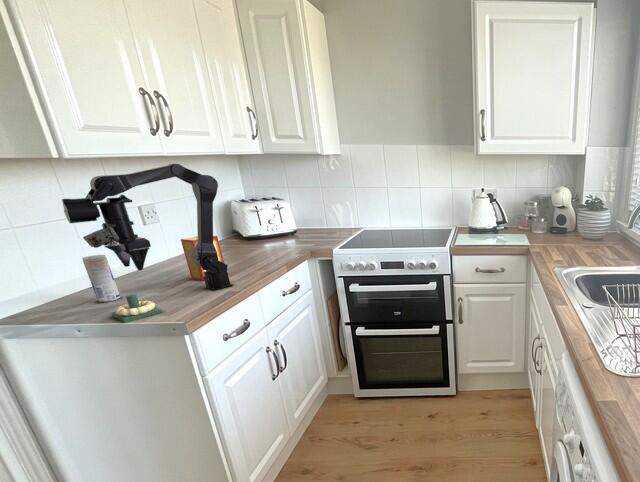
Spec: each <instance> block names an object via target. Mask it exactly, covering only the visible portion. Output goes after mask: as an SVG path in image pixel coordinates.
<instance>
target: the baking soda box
mask: <svg viewBox="0 0 640 482" xmlns="http://www.w3.org/2000/svg"><path fill="white" fill-rule="evenodd" d="M197 242H198V235H197V236H196V235H195V236H192V237H186V238H181V239H180V243H181V246H182V249H183V252H184V257H185V260H186V263H187V267H188V270H189V275H190V276H191V280H195V281H203V282H205V281H204V276H205V275H204V272H206V270H203V269H202V267H200V266H198V265H196V264H195V263H194V262H193V259H192V258H190V257H191V254H192V252H191V247H196V245H197ZM213 244H214V246H215V249H216V251H217V255H218V260H219V261H221V262H222V263H224V264H225V261H224V257H223V253H222V249H221V245H220V241H219V237H218V235H213Z"/></svg>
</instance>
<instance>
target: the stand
mask: <svg viewBox="0 0 640 482" xmlns="http://www.w3.org/2000/svg"><path fill="white" fill-rule="evenodd" d="M125 299H126V301H127V304H128V305H129V308H130V309H132V308H138V307H140V304H139V301H140V300H139V299H138V296H137V293H132V294H126V295H125ZM158 314H162V309H161V308H159V307H156V306H155V307H154V309H153V310H151V311H148V312H146V313H142V314H138V315H131V316H120V315H118V314H116V313H115V311H114V312H111V316H112V317H113V318H115V319H116V320H119V321H122V322H123V323H128V322H131V321H135V320H139V319H143V318H146V317H152V316H154V315H158Z"/></svg>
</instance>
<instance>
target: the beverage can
mask: <svg viewBox="0 0 640 482" xmlns="http://www.w3.org/2000/svg"><path fill="white" fill-rule="evenodd" d="M81 260H82V263H83V266H84V267H85V271H86V273H87V276H88V279H89V282H90V284H91V286H92V289H93V292H94V294H95V297H96V300H97V302H100V303H108V302H109V303H110V302H112V301H117V300H119V299H120V298H121V294H120V291H119V289H118V286H117V283H116V280H115V277H114V275H113V272H112V270H111V267H110V264H109V261H108V258H107V257H106V255H105V254H94V255H87V256H83V257H81Z"/></svg>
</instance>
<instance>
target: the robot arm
mask: <svg viewBox="0 0 640 482" xmlns="http://www.w3.org/2000/svg"><path fill="white" fill-rule="evenodd" d="M173 178H177V179H179V180H181V181H183V182H185V183H187V184H189V185H191V189H192V192H193V195H194V197H195V199H196V200H195V201H196V218H197V219H196V221H197V224H196V225H197V228H196V229H197V236H198V242H197V245H196V247H191V252H192V254H191V257H190V258H192V259H193V262H194V263H195V264H196V265H198V266H200V267H202V269H203V270H206V272H204V275H205V276H204V281H203V282H204V284H205V289H209V290H212V291H217V290H221V289H224V288H229V287H233V286H234V284H233V283H231V281H230V277H229V273H228V267H229V265H228V264H226V263H225V262H224V263H222V262H221V261H219V260H218V255H217V251H216V249H215V246H214V244H213V236H214V201H215V199H216V196H217V194H218V188H219V182H218V181H217V180H216V179H215V177H213V176H212V175H209V174H202V173H199V172H197V171H195V170H192V169H190V168H187V167H185V166H183V165H181V164H179V163H169V164H167V165H161V166H158V167H153V168H149V169H144V170H139V171H134V172H130V173H123V174H122V173H121V174H105V175H96V176H93V177H92V178H91V179H90V182H89V186H90V190H89V191H88V193H87V194H86V196H85V197H83V198H82V197H81V198H62V199H61V202H62V207H63V213H64V215H65V218H66V219H67V222H68V223H69V224H77V223H78V224H80V223H88V222H97V220H98V219H99V218H100V217H101V215H102V219H103V221H104V222H102V223H101V227H102V228H101V229H98V230H95V231H93V232H90V233H89V234H86V235H84V236H83V237H82V239H83V240H84V241H85V242H86V243H87V244H88V245H89V246H90V247H91V248H94V249H97V248H100V247H102V246H103V247H104V248H105V249H108V250H110V251H113V253H114V254H115V256H116V257H117V258H118V259H119V261H120V262H121V263H122V265H123V266H124V267H125V268H128V267H130V265H131V261H132V263H133V264H134V266H135V268H136V270H137V271H143V270H144V266H145V262H146V258H147V255H148V252H149V250H150V248H151V247H152V245H151V242H150V240H149V239H148V238H145V237H141V236H139V235H138V234H136V233H135V231H134V229H133V226H134V225H135V223H134V220H131V219H130V216H129V213H128V209H127V207H126V203H127V204H129V203H133V199H131V198H128V197H127V196H126V195H125V194H123V193H125V192H127V191H129V190H131V189H133V188H135V187H139V186H143V185H147V184H151V183H155V182H159V181H160V182H161V181H164V180H167V179H173ZM118 195H119V196H118ZM115 196H117V197H115ZM103 200H106V201H103Z"/></svg>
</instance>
